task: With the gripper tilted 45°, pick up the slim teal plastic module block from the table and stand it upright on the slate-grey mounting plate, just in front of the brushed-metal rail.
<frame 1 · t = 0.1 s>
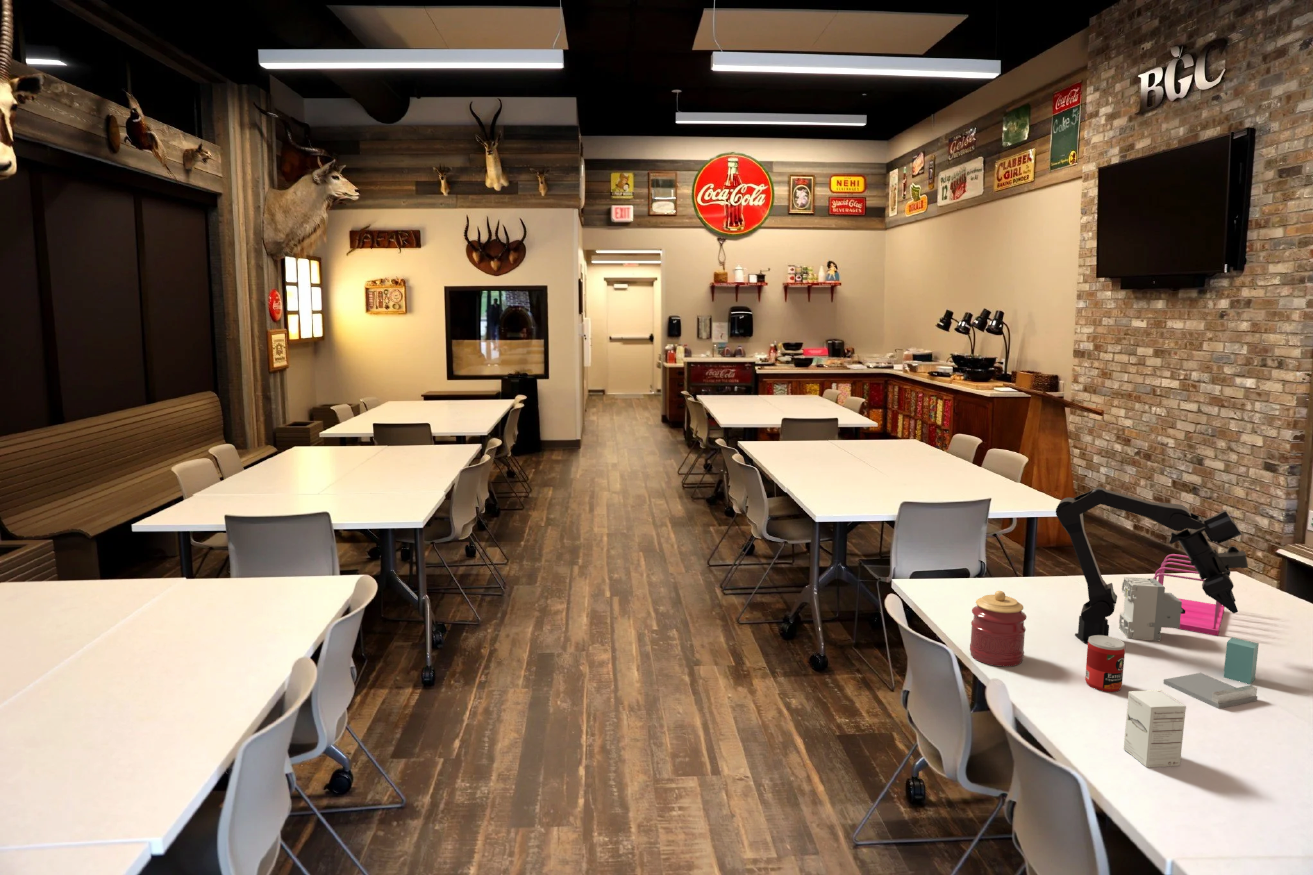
hand: (1234, 607, 216), 15 cm above the table, tool tilted 35°, fingers open, 9 cm apart
module block: (1239, 678, 209), on the table
canister: (996, 658, 222), on the table
supplement box: (1151, 758, 172), on the table
circuit breaker: (1151, 636, 237), on the table
canned food: (1103, 686, 205), on the table
file sorter: (1185, 618, 252), on the table
mounting plate: (1209, 691, 202), on the table
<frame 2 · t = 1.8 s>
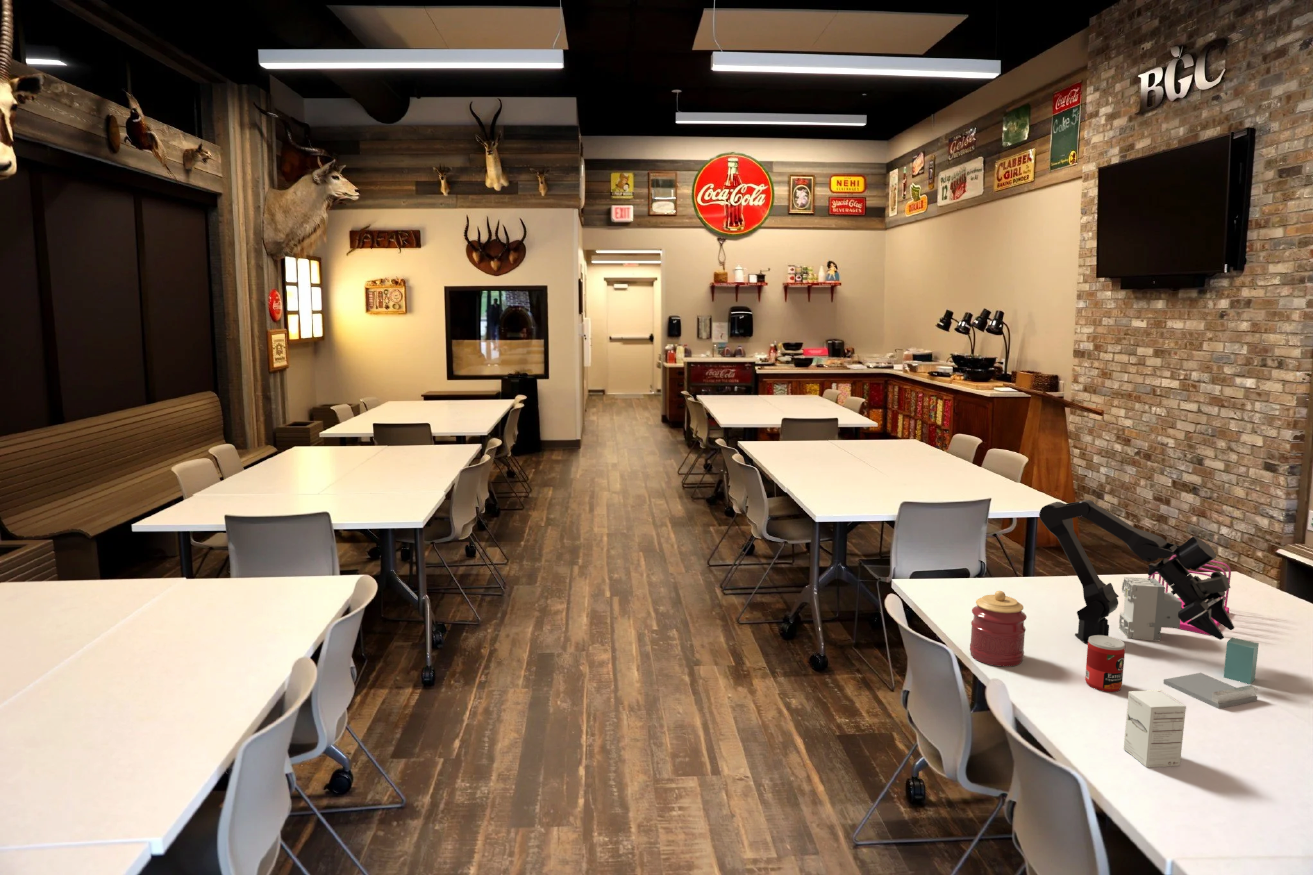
hand: (1227, 633, 210), 10 cm above the table, tool tilted 45°, fingers open, 9 cm apart
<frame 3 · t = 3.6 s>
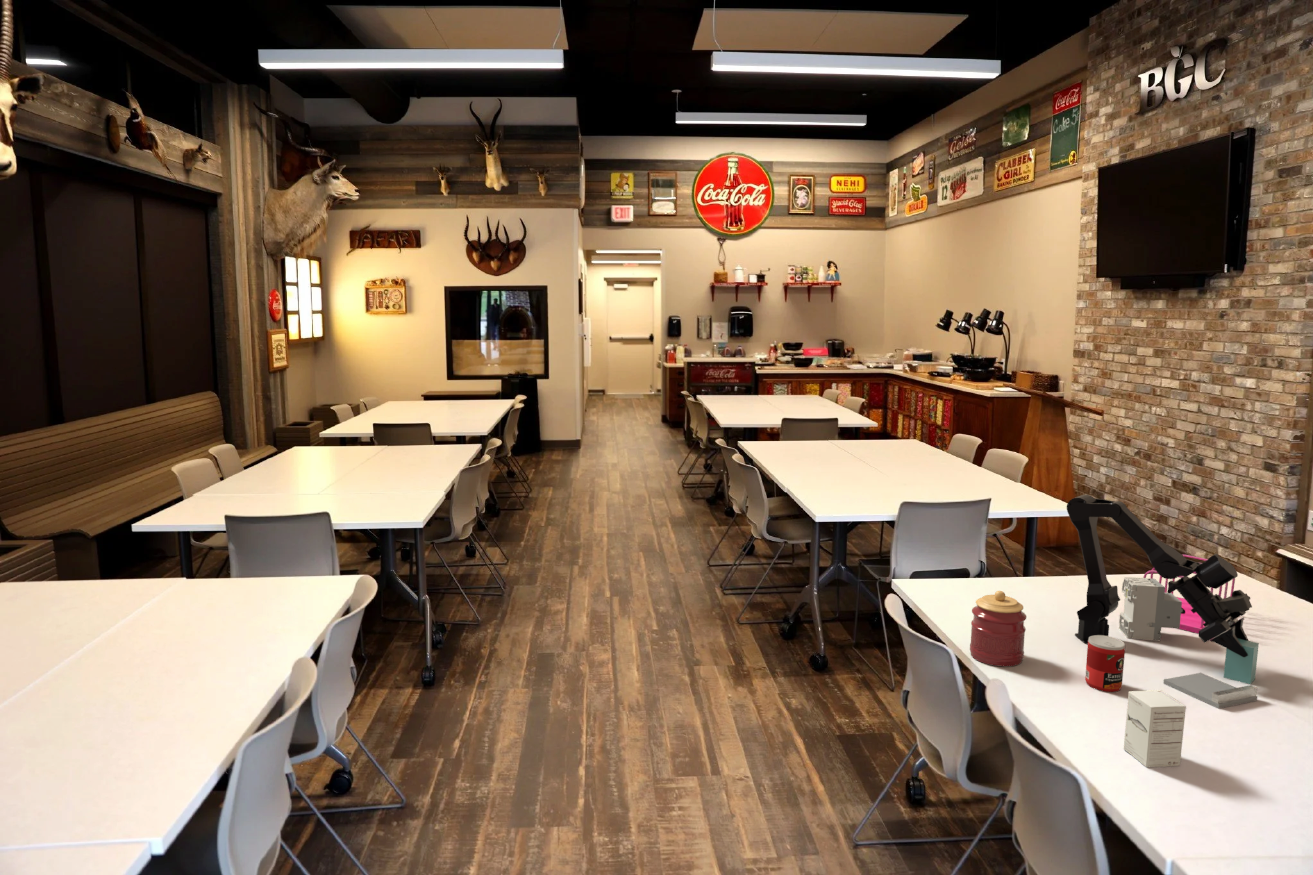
hand: (1248, 653, 207), 7 cm above the table, tool tilted 45°, fingers closed on module block, 4 cm apart
module block: (1239, 678, 209), on the table, touching gripper
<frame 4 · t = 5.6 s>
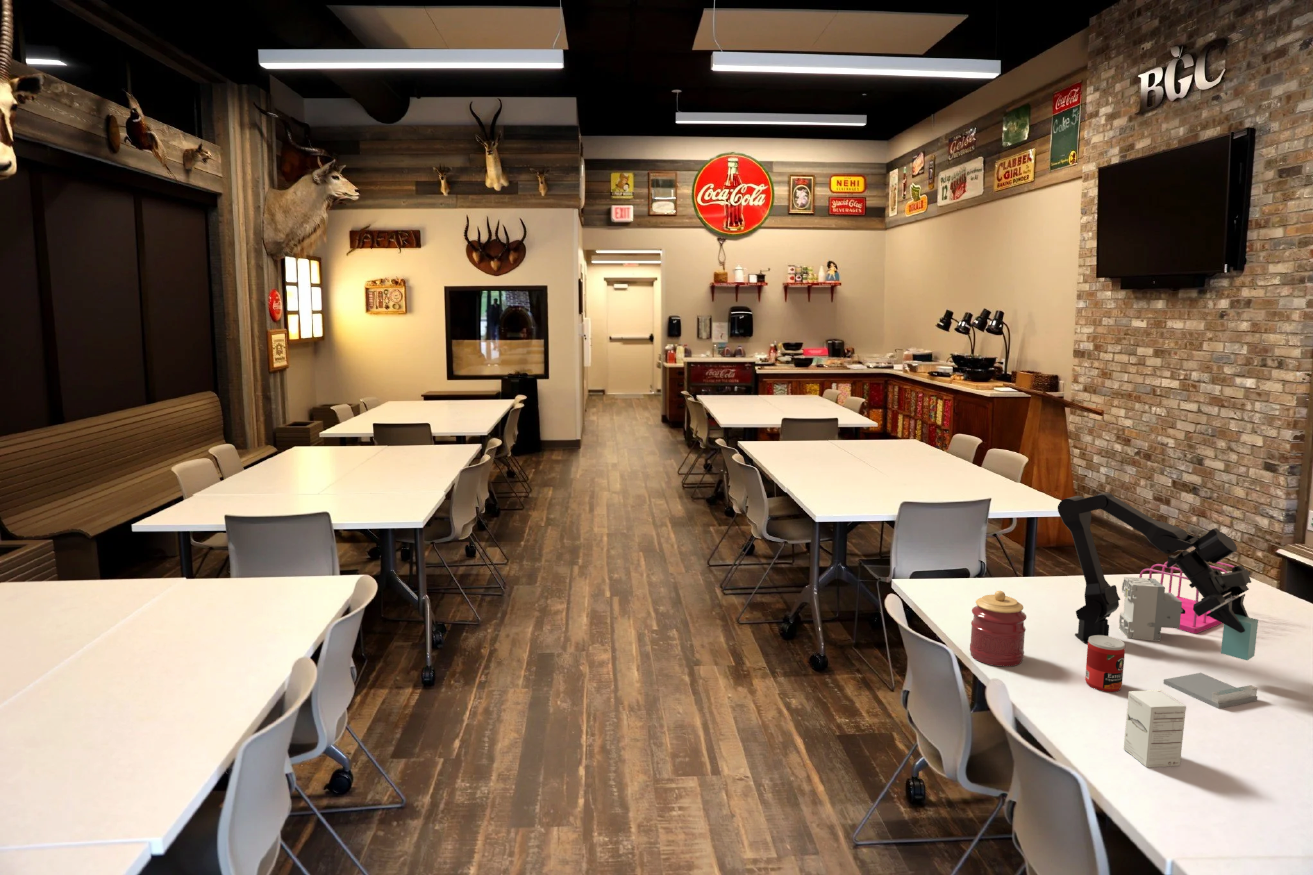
hand: (1247, 629, 204), 13 cm above the table, tool tilted 45°, fingers closed on module block, 4 cm apart
module block: (1237, 654, 206), point 7 cm above the table, touching gripper
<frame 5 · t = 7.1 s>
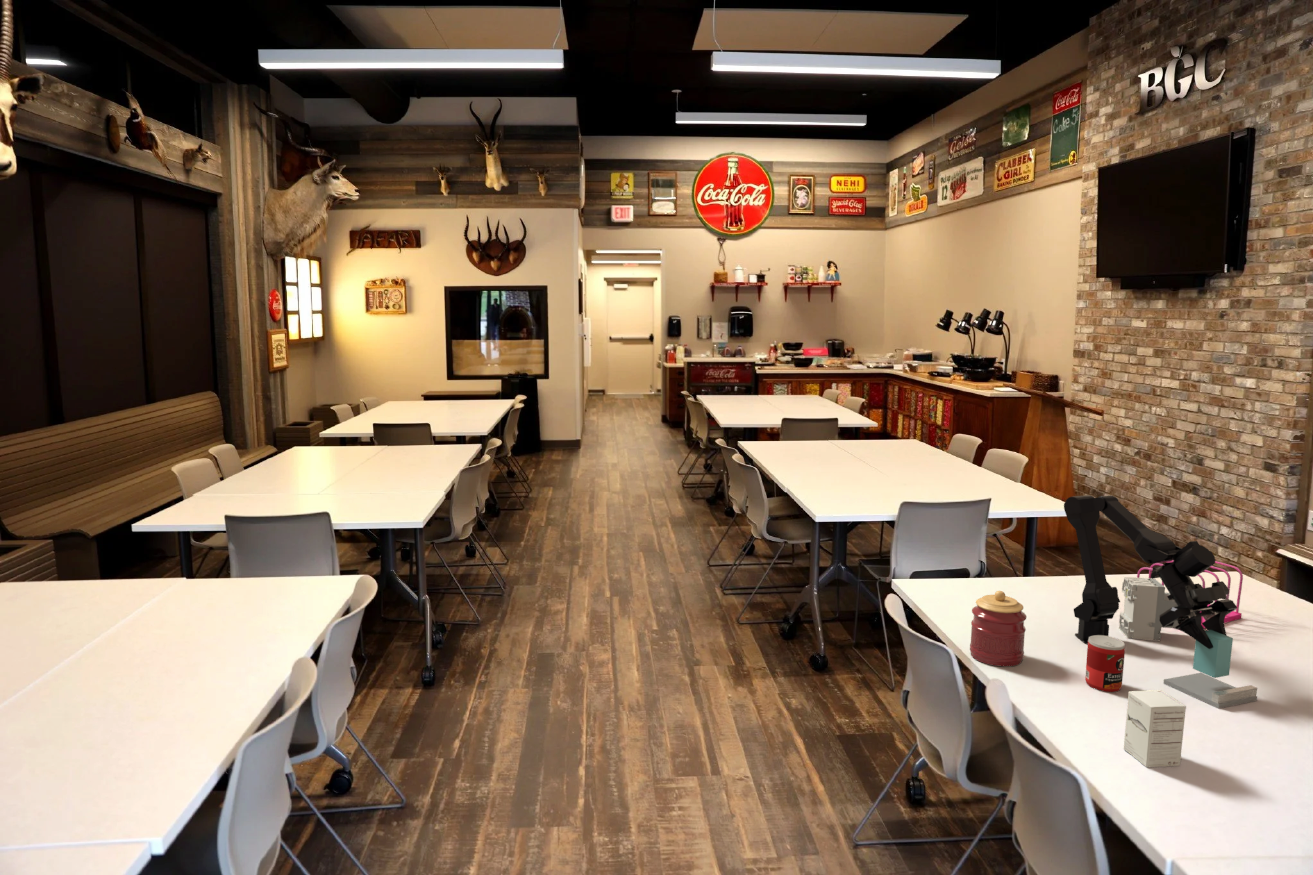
hand: (1219, 646, 199), 11 cm above the table, tool tilted 45°, fingers closed on module block, 4 cm apart
module block: (1210, 671, 201), point 5 cm above the table, touching gripper
when the fingers open (8 cm above the table, at t = 8.0 s): module block stays where it is, resting on mounting plate.
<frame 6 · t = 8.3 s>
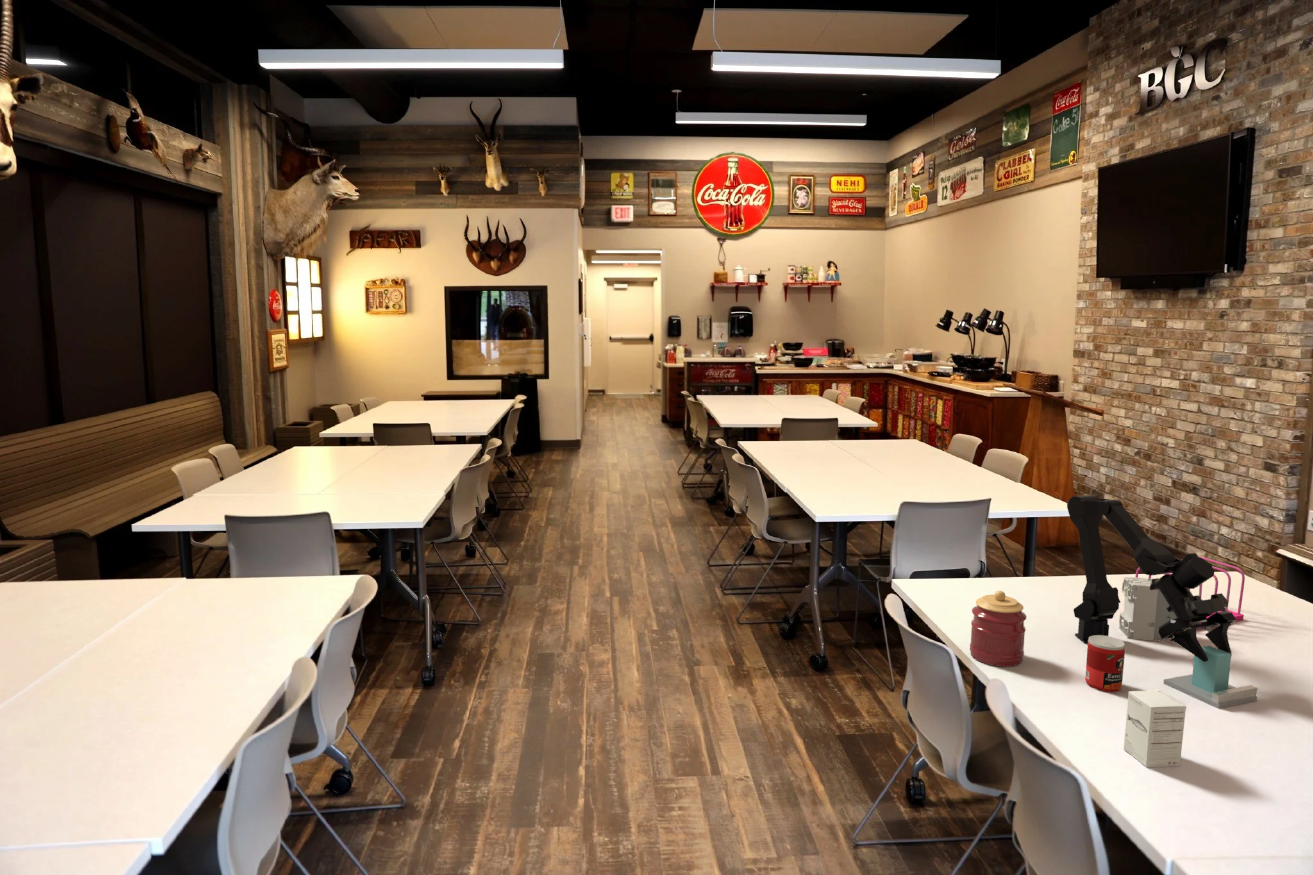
hand: (1218, 659, 199), 9 cm above the table, tool tilted 45°, fingers open, 7 cm apart
module block: (1209, 687, 202), point 1 cm above the table, touching mounting plate
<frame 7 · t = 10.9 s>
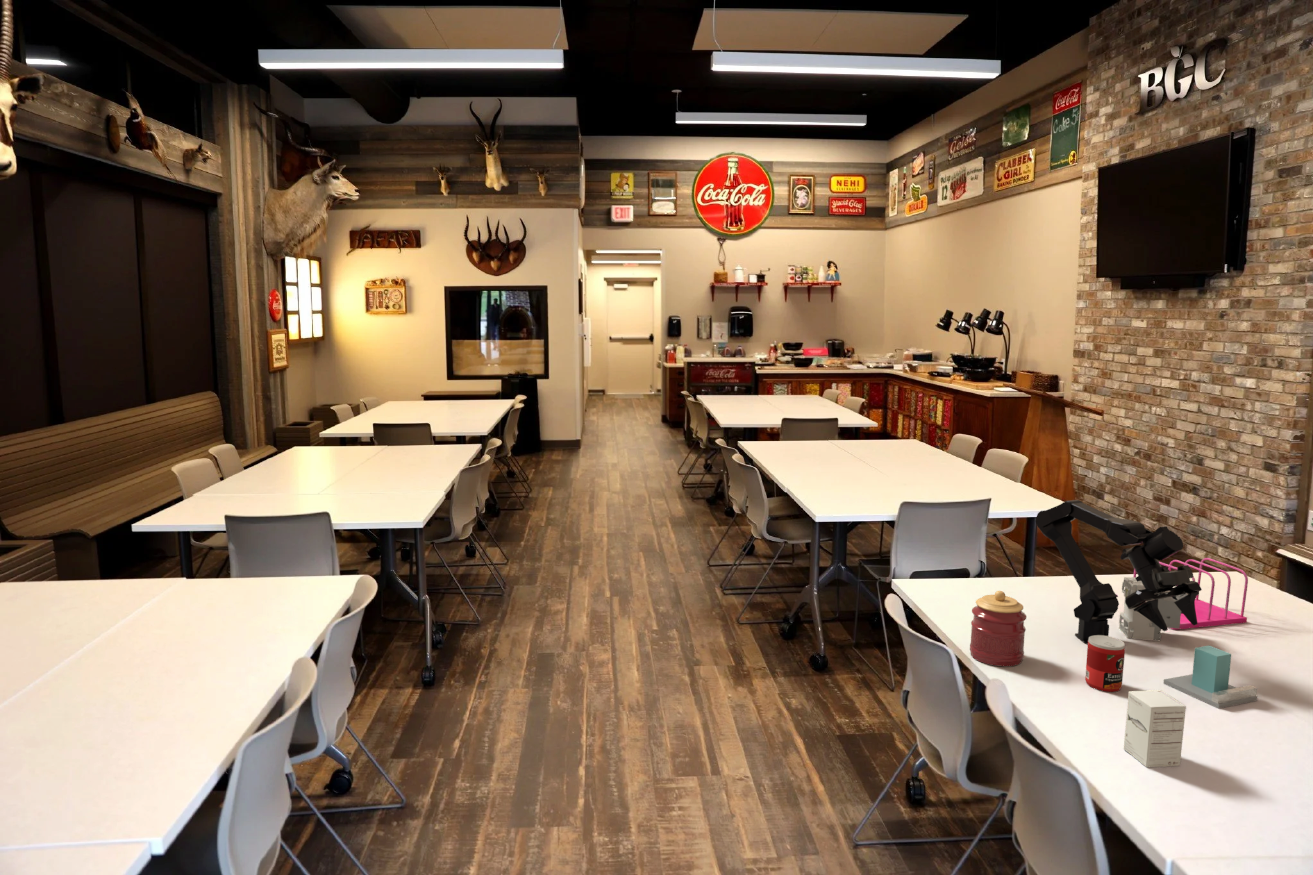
hand: (1180, 627, 209), 12 cm above the table, tool tilted 40°, fingers open, 9 cm apart
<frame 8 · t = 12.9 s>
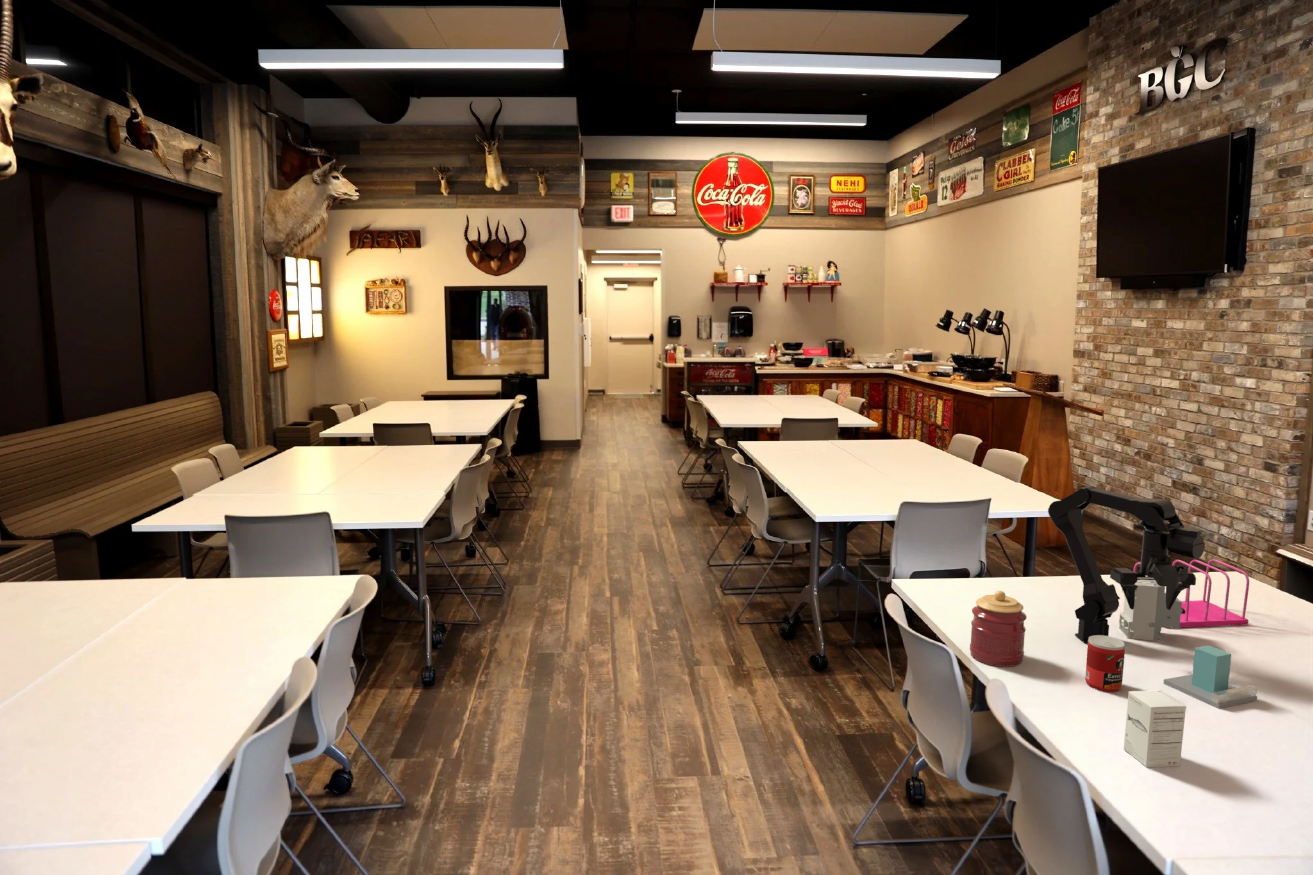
hand: (1149, 609, 220), 13 cm above the table, tool pointing down, fingers open, 9 cm apart
at the end: module block inside the target area on the mounting plate (0.0 cm from its centre), point 1.0 cm above the mounting plate's base; module block tilted 0°; the gripper is holding nothing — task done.
